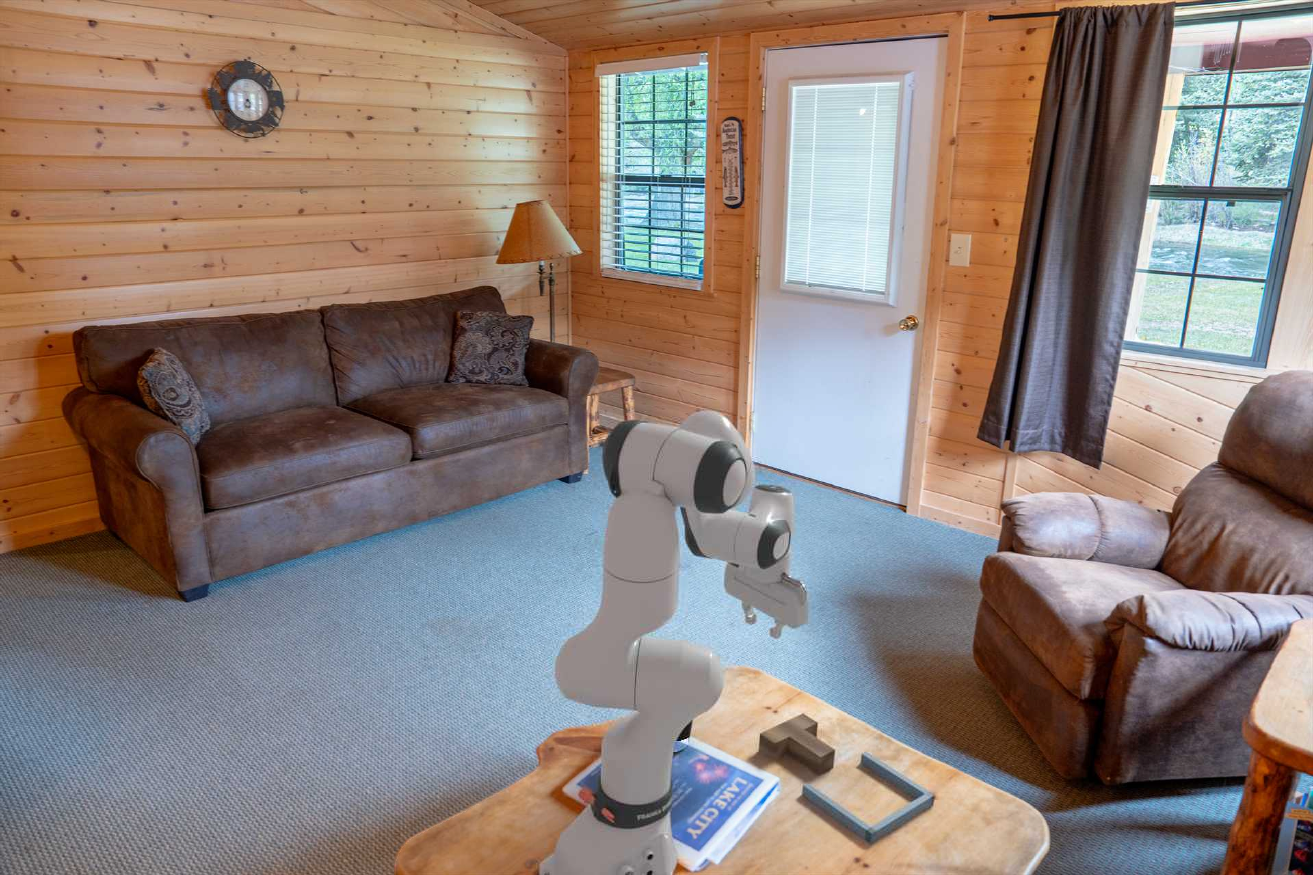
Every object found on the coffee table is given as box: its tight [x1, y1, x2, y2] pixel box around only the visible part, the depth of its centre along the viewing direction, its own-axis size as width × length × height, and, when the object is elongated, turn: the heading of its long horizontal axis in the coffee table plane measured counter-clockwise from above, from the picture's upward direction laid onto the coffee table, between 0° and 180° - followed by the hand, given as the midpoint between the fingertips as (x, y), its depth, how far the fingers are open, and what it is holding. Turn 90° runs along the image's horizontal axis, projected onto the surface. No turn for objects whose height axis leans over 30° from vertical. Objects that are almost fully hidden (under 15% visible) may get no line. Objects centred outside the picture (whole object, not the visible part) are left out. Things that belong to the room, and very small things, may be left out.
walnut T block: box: [758, 713, 836, 776], centre depth 177 cm, size 12×12×4 cm
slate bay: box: [801, 751, 936, 845], centre depth 166 cm, size 17×16×2 cm
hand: (762, 629), depth 182 cm, fingers open, 5 cm apart
